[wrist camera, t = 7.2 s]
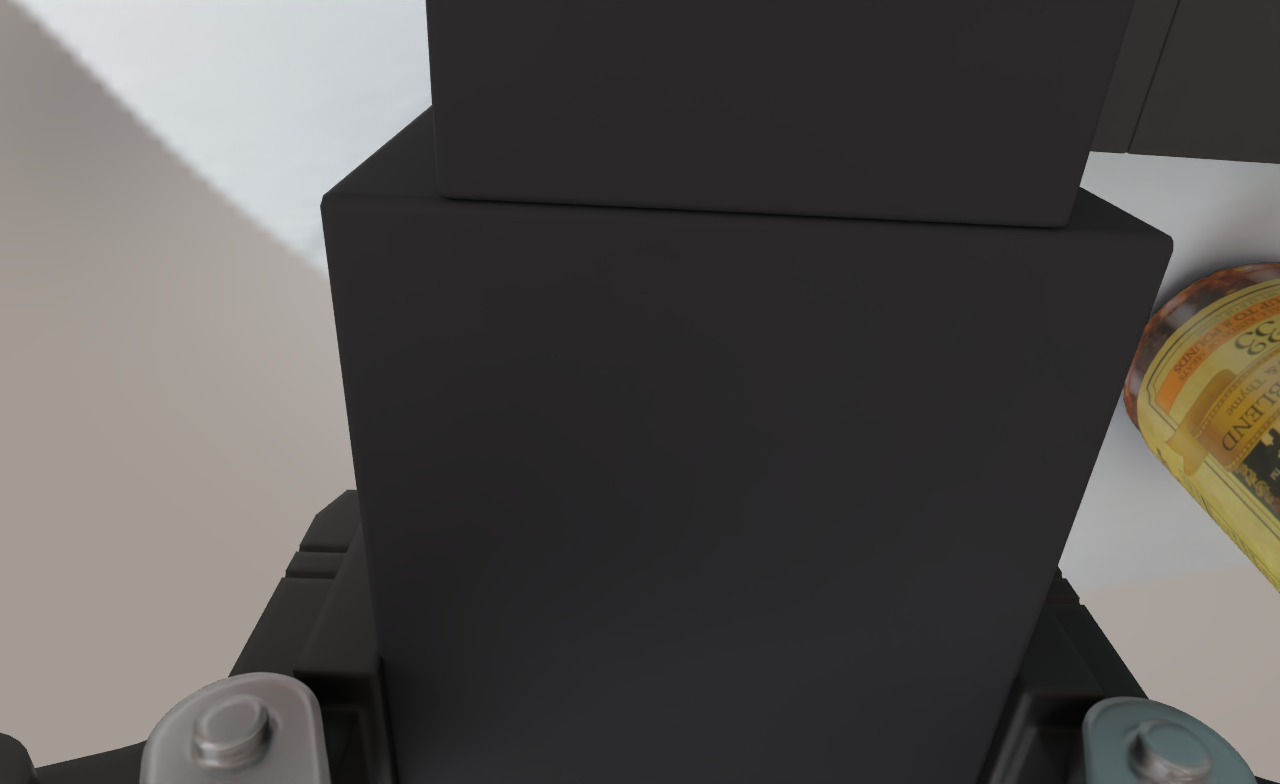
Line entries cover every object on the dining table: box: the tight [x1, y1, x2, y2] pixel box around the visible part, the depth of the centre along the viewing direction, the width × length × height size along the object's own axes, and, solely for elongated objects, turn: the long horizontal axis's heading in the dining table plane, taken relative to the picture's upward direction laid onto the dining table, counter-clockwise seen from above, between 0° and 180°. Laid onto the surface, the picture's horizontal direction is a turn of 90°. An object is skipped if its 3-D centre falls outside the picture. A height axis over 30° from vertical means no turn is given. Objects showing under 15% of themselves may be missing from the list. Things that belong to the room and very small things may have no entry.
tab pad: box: [320, 0, 1173, 784], centre depth 9 cm, size 6×13×4 cm, turn 177°
